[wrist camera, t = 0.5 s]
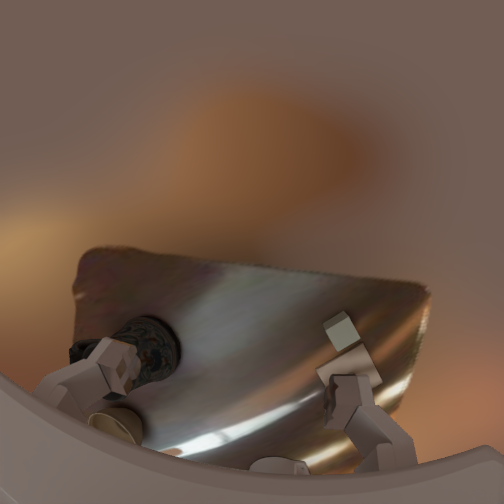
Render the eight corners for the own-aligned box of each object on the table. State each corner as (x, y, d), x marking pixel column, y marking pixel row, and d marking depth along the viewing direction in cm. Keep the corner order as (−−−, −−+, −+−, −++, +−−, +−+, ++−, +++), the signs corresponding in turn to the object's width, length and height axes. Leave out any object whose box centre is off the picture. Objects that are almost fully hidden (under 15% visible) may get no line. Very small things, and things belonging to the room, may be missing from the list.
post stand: (381, 380, 55) (390, 393, 48) (337, 404, 57) (341, 420, 50) (361, 341, 57) (369, 352, 49) (315, 368, 58) (317, 381, 51)
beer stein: (191, 372, 62) (142, 423, 37) (130, 379, 65) (74, 418, 40) (169, 308, 63) (106, 333, 38) (110, 323, 66) (43, 345, 41)
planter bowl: (145, 449, 64) (129, 467, 54) (104, 419, 67) (85, 434, 56) (160, 420, 64) (142, 439, 53) (114, 387, 66) (92, 402, 55)
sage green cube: (354, 330, 57) (360, 338, 51) (333, 343, 57) (337, 352, 52) (343, 310, 57) (348, 316, 51) (322, 323, 58) (325, 330, 52)
